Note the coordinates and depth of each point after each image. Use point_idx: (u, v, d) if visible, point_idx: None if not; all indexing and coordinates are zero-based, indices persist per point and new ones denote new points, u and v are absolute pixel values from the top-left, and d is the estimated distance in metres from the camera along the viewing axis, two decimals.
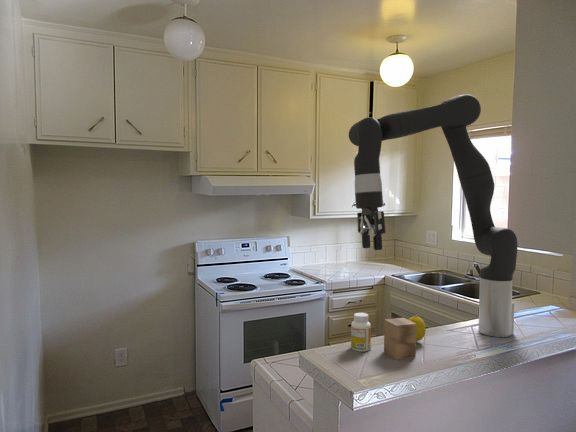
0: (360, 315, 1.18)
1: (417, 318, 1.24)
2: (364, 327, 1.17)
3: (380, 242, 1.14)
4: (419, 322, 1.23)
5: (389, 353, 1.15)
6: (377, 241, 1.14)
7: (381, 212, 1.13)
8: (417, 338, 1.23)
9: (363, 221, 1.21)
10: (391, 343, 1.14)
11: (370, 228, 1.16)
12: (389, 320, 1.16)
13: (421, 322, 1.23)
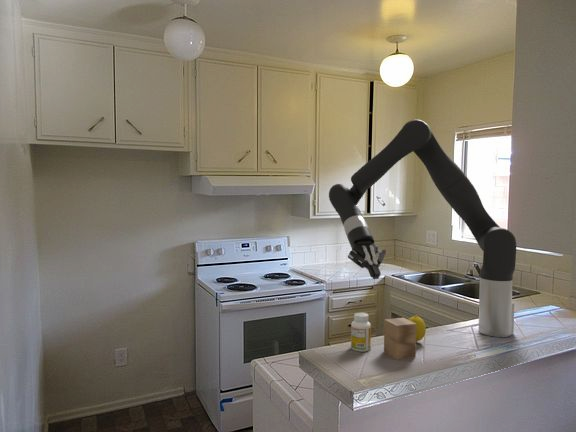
0: (360, 315, 1.18)
1: (417, 318, 1.24)
2: (364, 327, 1.17)
3: (370, 271, 1.27)
4: (419, 322, 1.23)
5: (389, 353, 1.15)
6: (369, 272, 1.28)
7: (350, 253, 1.30)
8: (417, 338, 1.23)
9: None
10: (391, 343, 1.14)
11: None
12: (389, 320, 1.16)
13: (421, 322, 1.23)
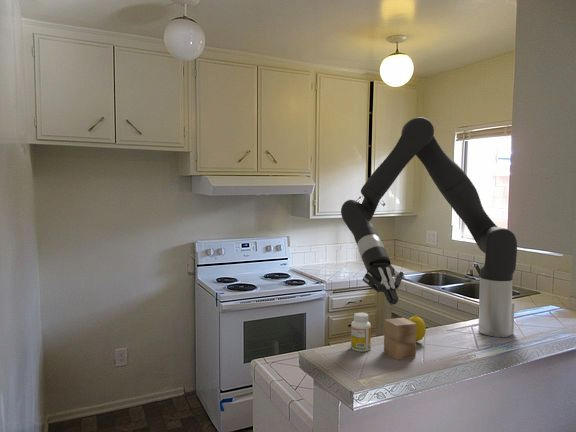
0: (360, 315, 1.18)
1: (417, 318, 1.24)
2: (364, 327, 1.17)
3: (387, 296, 1.18)
4: (419, 322, 1.23)
5: (389, 353, 1.15)
6: (386, 296, 1.19)
7: (365, 276, 1.21)
8: (417, 338, 1.23)
9: None
10: (391, 343, 1.14)
11: None
12: (389, 320, 1.16)
13: (421, 322, 1.23)
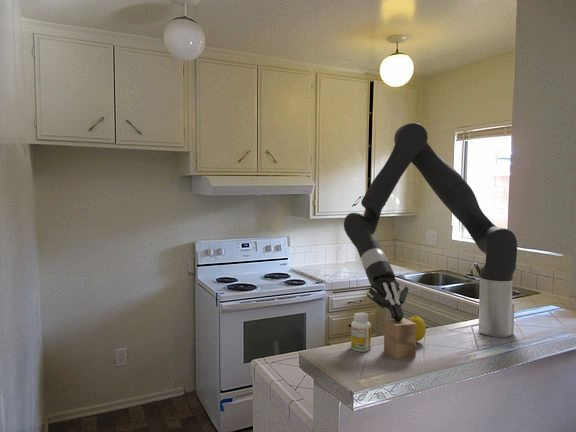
0: (360, 315, 1.18)
1: (417, 318, 1.24)
2: (364, 327, 1.17)
3: (392, 312, 1.16)
4: (419, 322, 1.23)
5: (389, 353, 1.15)
6: (391, 313, 1.16)
7: (369, 292, 1.18)
8: (417, 338, 1.23)
9: None
10: (391, 343, 1.14)
11: None
12: (389, 320, 1.16)
13: (421, 322, 1.23)
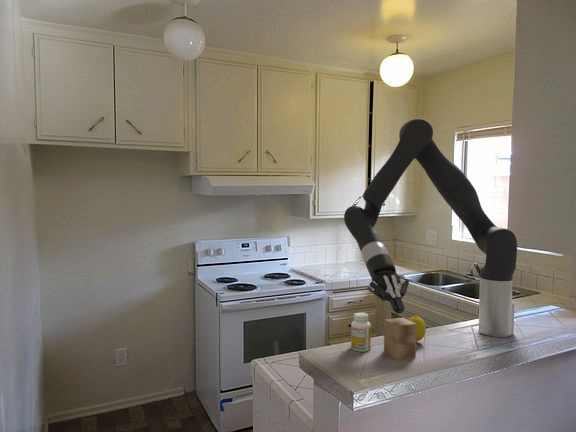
0: (360, 315, 1.18)
1: (417, 318, 1.24)
2: (364, 327, 1.17)
3: (393, 305, 1.16)
4: (419, 322, 1.23)
5: (389, 353, 1.15)
6: (392, 305, 1.16)
7: (370, 285, 1.18)
8: (417, 338, 1.23)
9: None
10: (391, 343, 1.14)
11: None
12: (389, 320, 1.16)
13: (421, 322, 1.23)
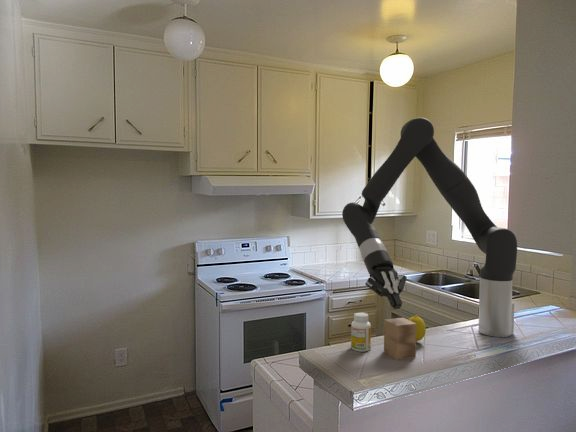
0: (360, 315, 1.18)
1: (417, 318, 1.24)
2: (364, 327, 1.17)
3: (391, 301, 1.16)
4: (419, 322, 1.23)
5: (389, 353, 1.15)
6: (389, 301, 1.17)
7: (368, 281, 1.19)
8: (417, 338, 1.23)
9: None
10: (391, 343, 1.14)
11: None
12: (389, 320, 1.16)
13: (421, 322, 1.23)
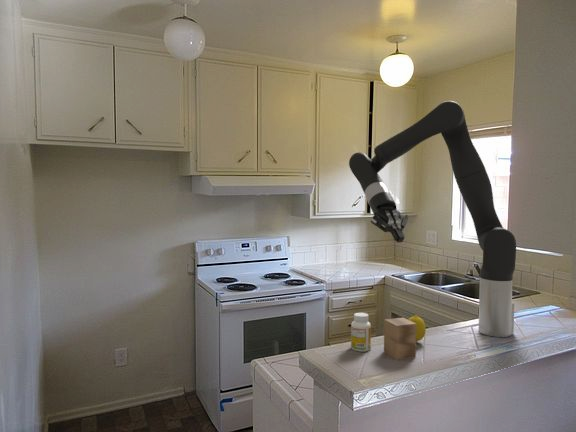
0: (360, 315, 1.18)
1: (417, 318, 1.24)
2: (364, 327, 1.17)
3: (394, 235, 1.27)
4: (419, 322, 1.23)
5: (389, 353, 1.15)
6: (393, 235, 1.28)
7: (373, 218, 1.30)
8: (417, 338, 1.23)
9: None
10: (391, 343, 1.14)
11: None
12: (389, 320, 1.16)
13: (421, 322, 1.23)
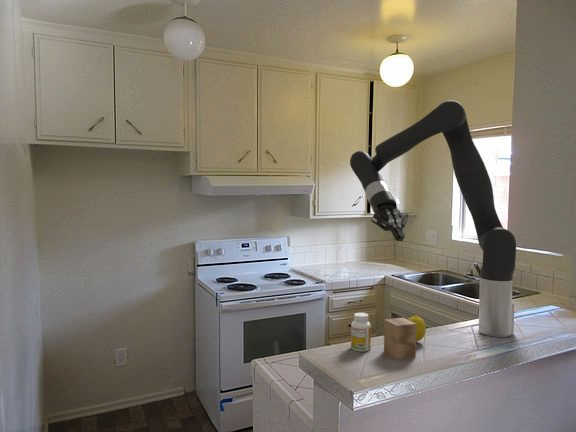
0: (360, 315, 1.18)
1: (417, 318, 1.24)
2: (364, 327, 1.17)
3: (395, 233, 1.27)
4: (419, 322, 1.23)
5: (389, 353, 1.15)
6: (393, 234, 1.28)
7: (373, 217, 1.30)
8: (417, 338, 1.23)
9: None
10: (391, 343, 1.14)
11: None
12: (389, 320, 1.16)
13: (421, 322, 1.23)
